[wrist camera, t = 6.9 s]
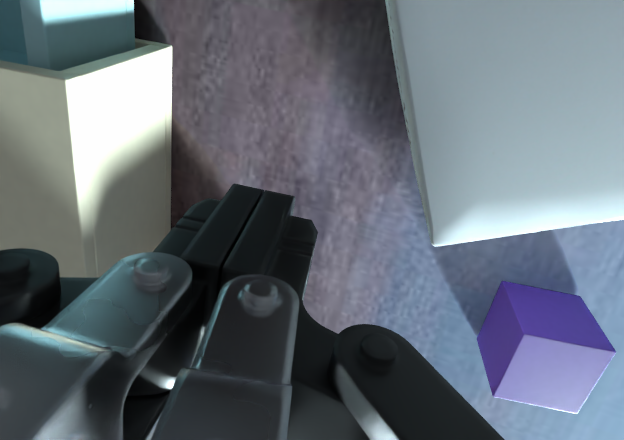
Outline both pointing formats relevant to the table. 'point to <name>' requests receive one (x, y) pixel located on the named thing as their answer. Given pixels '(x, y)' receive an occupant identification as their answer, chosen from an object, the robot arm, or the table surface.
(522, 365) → the purple cube
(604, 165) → the white packaging box
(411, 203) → the table surface
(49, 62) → the drawer
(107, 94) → the block
